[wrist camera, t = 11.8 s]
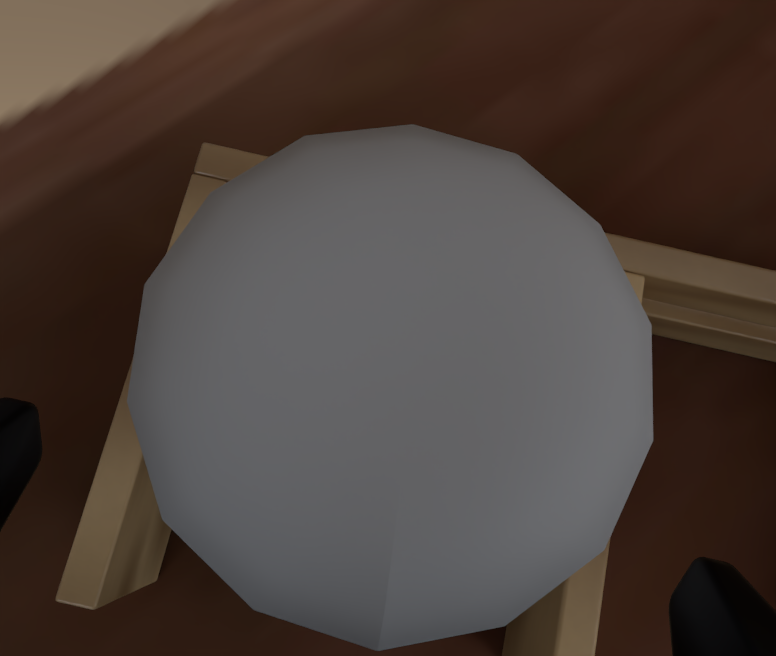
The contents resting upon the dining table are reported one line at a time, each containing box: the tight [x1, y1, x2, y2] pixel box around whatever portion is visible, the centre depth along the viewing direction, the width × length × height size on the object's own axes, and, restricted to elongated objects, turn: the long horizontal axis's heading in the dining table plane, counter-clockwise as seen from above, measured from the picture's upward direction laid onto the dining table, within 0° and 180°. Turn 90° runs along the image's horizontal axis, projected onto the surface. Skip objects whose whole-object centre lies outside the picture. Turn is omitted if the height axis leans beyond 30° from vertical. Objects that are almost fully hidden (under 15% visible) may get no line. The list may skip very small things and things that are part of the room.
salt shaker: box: [127, 124, 653, 651], centre depth 11 cm, size 6×6×13 cm
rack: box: [56, 143, 776, 656], centre depth 15 cm, size 10×20×4 cm, turn 77°
